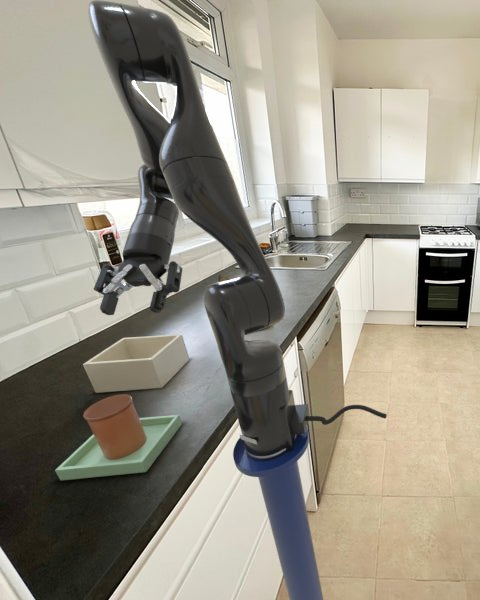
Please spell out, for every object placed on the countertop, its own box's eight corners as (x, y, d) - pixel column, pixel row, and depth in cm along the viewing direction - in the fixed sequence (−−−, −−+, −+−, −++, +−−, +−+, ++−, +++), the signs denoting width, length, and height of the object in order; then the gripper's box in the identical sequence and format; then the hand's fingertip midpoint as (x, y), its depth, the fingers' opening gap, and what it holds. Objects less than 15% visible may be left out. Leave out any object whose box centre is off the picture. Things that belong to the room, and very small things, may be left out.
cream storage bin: (189, 359, 85) (182, 334, 83) (162, 387, 74) (151, 359, 71) (132, 363, 84) (123, 337, 81) (95, 393, 72) (82, 364, 70)
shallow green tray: (182, 423, 63) (179, 414, 62) (146, 472, 52) (141, 462, 51) (111, 429, 61) (107, 420, 61) (60, 480, 51) (54, 470, 50)
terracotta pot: (155, 431, 60) (140, 392, 57) (132, 458, 54) (114, 417, 51) (120, 434, 59) (102, 395, 56) (93, 462, 53) (72, 420, 50)
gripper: (100, 232, 62) (73, 307, 55) (175, 229, 63) (158, 302, 57) (127, 252, 69) (106, 321, 62) (195, 250, 70) (182, 317, 64)
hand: (131, 312), depth 60 cm, fingers open, 8 cm apart
